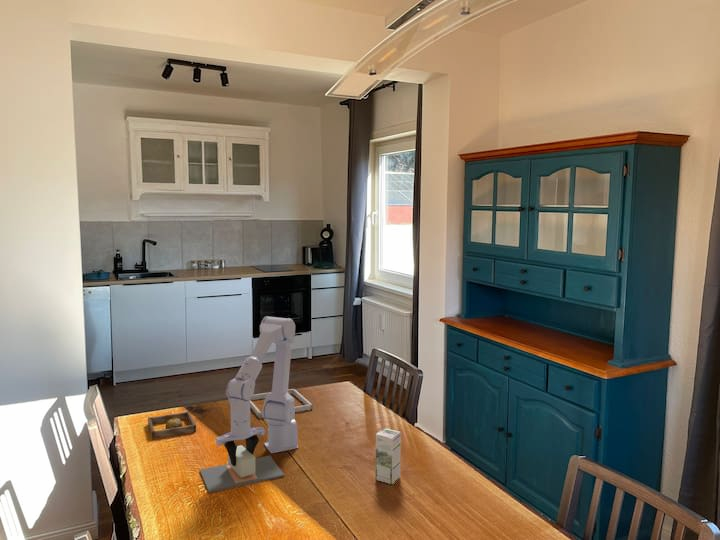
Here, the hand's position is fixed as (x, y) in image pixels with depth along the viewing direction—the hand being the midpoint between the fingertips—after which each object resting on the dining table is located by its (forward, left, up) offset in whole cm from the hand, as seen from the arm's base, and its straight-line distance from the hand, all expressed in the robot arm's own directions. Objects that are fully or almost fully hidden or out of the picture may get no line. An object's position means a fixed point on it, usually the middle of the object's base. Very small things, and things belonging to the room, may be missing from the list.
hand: (241, 462), depth 163 cm
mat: (0, 0, -4) cm, 4 cm away
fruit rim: (+14, -45, -4) cm, 47 cm away
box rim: (-28, -51, -4) cm, 58 cm away
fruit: (+13, -42, -4) cm, 44 cm away
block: (0, 0, -2) cm, 2 cm away
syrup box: (-38, +22, -4) cm, 44 cm away
